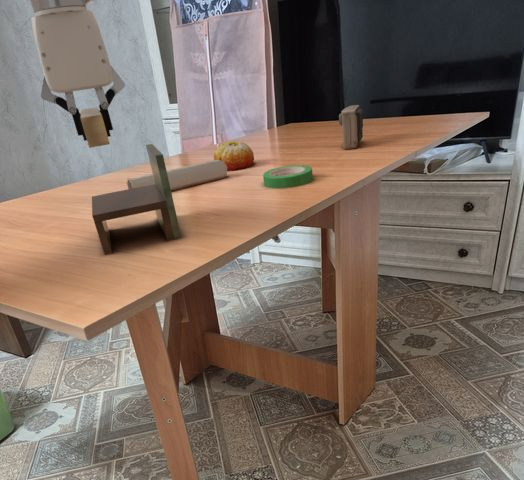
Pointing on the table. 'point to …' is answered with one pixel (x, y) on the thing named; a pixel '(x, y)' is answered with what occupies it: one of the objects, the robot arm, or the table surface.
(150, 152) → the miniature wooden chair
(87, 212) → the table surface
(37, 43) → the robot arm
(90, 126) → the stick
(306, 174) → the tape roll
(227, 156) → the fruit
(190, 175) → the tube
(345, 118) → the camera
